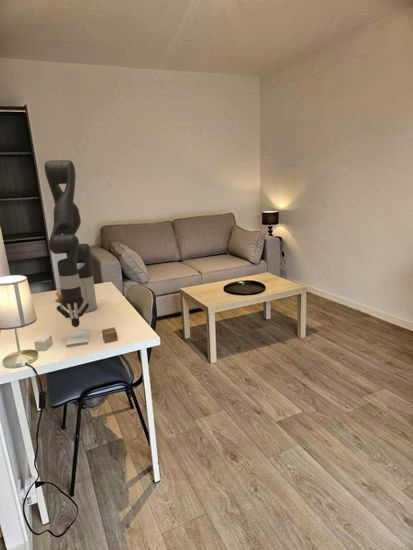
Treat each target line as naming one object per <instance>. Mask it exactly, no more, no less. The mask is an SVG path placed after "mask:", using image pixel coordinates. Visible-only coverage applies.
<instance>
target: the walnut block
mask: <svg viewBox="0 0 413 550" xmlns="http://www.w3.org/2000/svg"><path fill="white" fill-rule="evenodd" d="M101 334H102V340H103V342H104V344H108V343H112V342H117V341H118V340H119V339H118V332H117V330H116V328H115V327H108V328H103V329H101Z"/></svg>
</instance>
